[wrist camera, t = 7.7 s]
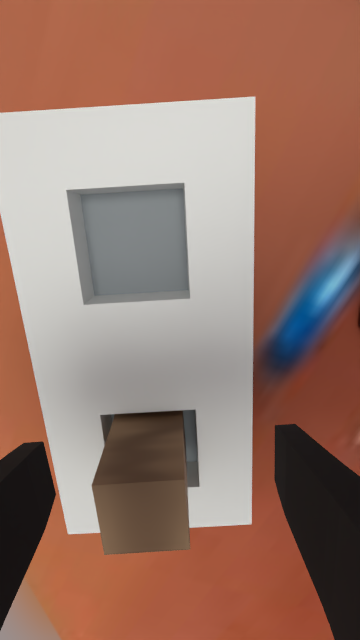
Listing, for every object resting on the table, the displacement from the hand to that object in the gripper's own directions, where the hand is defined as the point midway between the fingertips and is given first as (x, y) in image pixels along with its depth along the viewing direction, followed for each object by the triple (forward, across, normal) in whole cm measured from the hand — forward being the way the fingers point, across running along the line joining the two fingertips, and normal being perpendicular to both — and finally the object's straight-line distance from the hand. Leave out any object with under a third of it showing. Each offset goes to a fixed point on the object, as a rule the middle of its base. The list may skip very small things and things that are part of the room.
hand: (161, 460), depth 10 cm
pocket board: (+10, +1, 0) cm, 10 cm away
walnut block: (+10, +2, +6) cm, 11 cm away
